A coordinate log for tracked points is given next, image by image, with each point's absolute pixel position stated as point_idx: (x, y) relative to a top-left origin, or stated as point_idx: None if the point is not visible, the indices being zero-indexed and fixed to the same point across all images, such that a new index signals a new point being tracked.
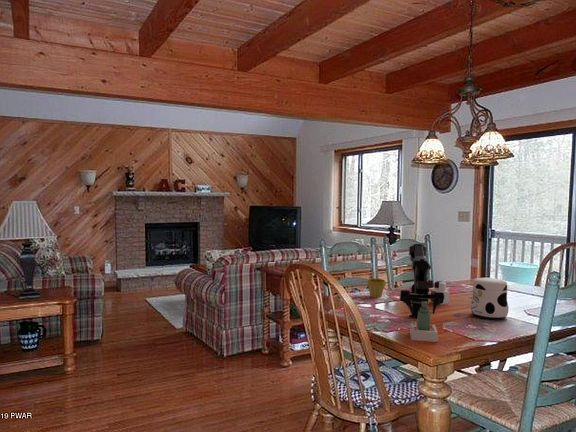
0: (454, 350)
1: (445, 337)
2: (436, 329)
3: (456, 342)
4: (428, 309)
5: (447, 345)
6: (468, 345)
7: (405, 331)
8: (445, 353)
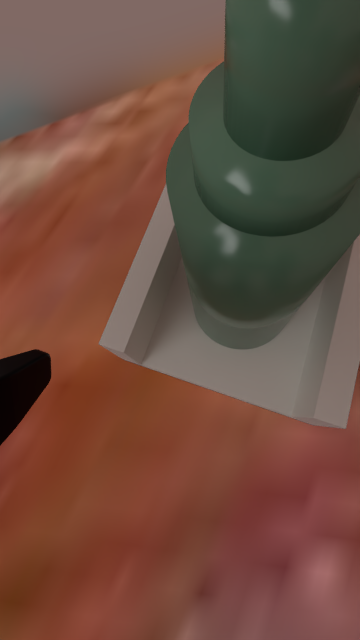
0: (154, 96)
1: (82, 290)
2: (153, 219)
3: (69, 201)
4: (219, 69)
5: (151, 158)
6: (34, 158)
7: (343, 461)
8: (223, 61)
